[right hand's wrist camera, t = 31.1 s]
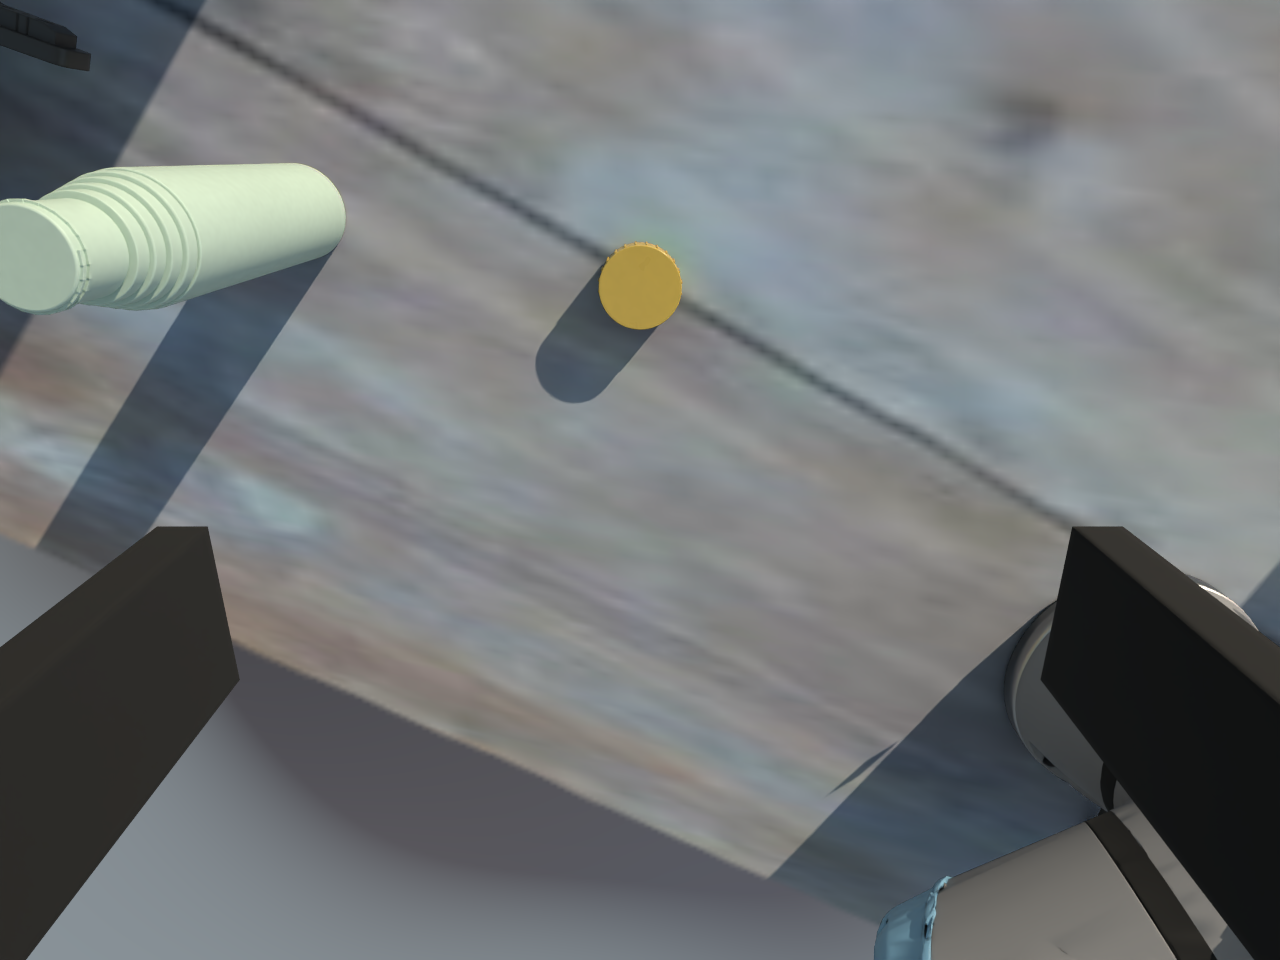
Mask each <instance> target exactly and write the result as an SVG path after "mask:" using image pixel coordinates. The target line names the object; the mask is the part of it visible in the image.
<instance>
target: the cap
mask: <svg viewBox="0 0 1280 960" xmlns="http://www.w3.org/2000/svg"><path fill="white" fill-rule="evenodd" d="M601 271H602V272H601V275H600V277H599V279H598V281H599V290H598V293H599V296H600V300H601V303H602V305H603V307H604V309H605V311H606V312H607V313H608V315H609V316H610V317H611V318H612V319H613V320H614V321H616V322H617V323H619V324H620V325H622V326H624V327H627V328H631V329H637V330H643V329H650V328H653V327H656V326H658V325H660V324H662V323H663V322H665V321H666V320H667V319H668V318H669V317H670V316H671V315H672V314H673V312H674V311H675V310H676V308H677V306H678V305H679V301H680V297H681V295H682V292H681V290H682V285H681V284H682V280H681V278H680V274H679V273H680V271H679V268H677V266H676V264H675V260H674V259H672V258H671V257H670V255H669V254H668V253H667V251H664V250H663V249H661V248H659V247H658V245H656V246H655V245H653V244H649V243H647V242H646V243H642V242H639V243H637V242H635V243H631V244H628V245H626V244H624V246H623V247H621V248H619V249H618V250H615V252H614V253H613V254H612V255H611V256H610V257H608V258H607V260H606V263H605V265H604V267H603V266H602V269H601Z"/></svg>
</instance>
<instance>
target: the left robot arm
mask: <svg viewBox="0 0 1280 960" xmlns="http://www.w3.org/2000/svg"><path fill="white" fill-rule="evenodd" d="M76 42H77V36H76V35H74V34H73V33H72V32H71V31H69V30H68V29H67V28H66V27H64V26H61V25H58V24H55V23H53V22H50V21H47V20H44V19H41V18H39V17H36V16H33V15H30V14H28V13H25V12H22V11H19V10H17V9H14V8H11V7H8V6H6V5H4V4H2V3H1V2H0V45H1V46H4V47H7V48H10V49H13V50H15V51H18V52H21V53H24V54H27V55H29V56H32V57H35V58H38V59H41V60H43V61H46V62H49V63H52V64H55V65H58V66H62V67H66V68H71V69H78V70H84V71H89V69H90V59H91V54H90V53H88V52H85V51H82V50H80V49H77V48H76Z"/></svg>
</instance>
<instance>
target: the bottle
mask: <svg viewBox="0 0 1280 960" xmlns="http://www.w3.org/2000/svg"><path fill="white" fill-rule="evenodd" d="M345 221H346V216H345V209H344V204H343V201H342V199H341V196H340V194H339V192H338V191H337V189H336V187H335V186H334V185H333V184H332V182H331V181H330V180H329V179H328V178H327V177H326V176H324V175H323V174H322V173H320V172H319V171H317V170H316V169H314V168H311V167H309V166H306V165H302V164H296V163H282V164H239V165H195V166H152V167H114V168H105V169H101V170H97V171H94V172H90V173H86V174H84V175H81V176H79V177H77V178H76V179H74V180H72V181H70V182H68V183H66V184H65V185H63V186H62V187H60V188H58V189H56V190H54V191H53V192H51V193H49V194H47V195H45V196H43V197H42V198H40V199H39V200H34V201H32V200H29V199H5V200H2V201H0V299H1V300H2V301H4V302H5V303H6V304H8V305H10V306H12V307H14V308H16V309H18V310H20V311H23V312H27V313H31V314H35V315H50V314H54V313H58V312H61V311H64V310H68V309H71V308H72V307H74V306H75V305H76V304H84V305H93V306H101V307H110V308H115V309H125V310H136V311H137V310H150V309H159V308H163V307H167V306H170V305H173V304H176V303H179V302H182V301H186V300H189V299H192V298H195V297H198V296H201V295H204V294H207V293H211V292H214V291H217V290H220V289H223V288H226V287H229V286H232V285H236V284H239V283H242V282H245V281H248V280H251V279H254V278H257V277H261V276H264V275H267V274H270V273H273V272H276V271H279V270H283V269H286V268H289V267H292V266H295V265H298V264H301V263H304V262H308V261H311V260H314V259H317V258H320V257H322V256H324V255H326V254H328V253H329V252H331V251H332V250H333V249H334V248H335V247H336V246H337V244H338V243H339V241H340V240H341V238H342V235H343V232H344V229H345Z"/></svg>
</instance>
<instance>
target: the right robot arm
mask: <svg viewBox="0 0 1280 960" xmlns="http://www.w3.org/2000/svg"><path fill="white" fill-rule="evenodd" d="M239 680H240V679H239V674H238V670H237V665H236V660H235V655H234V651H233V646H232V641H231V636H230V631H229V627H228V622H227V617H226V612H225V607H224V603H223V598H222V593H221V588H220V584H219V579H218V574H217V569H216V564H215V560H214V555H213V550H212V545H211V541H210V536H209V531H208V527H156V528H155V529H153V530H152V531H151V532H149V533H148V534H147V535H146V536H144V537H143V538H142V539H140V540H139V541H138V542H136V543H135V544H134V545H133V546H131V547H130V548H129V549H127V550H126V551H125V552H123V553H122V554H121V555H120V556H118V557H117V558H116V559H114V560H113V561H112V562H110V563H109V564H108V565H107V566H105V567H104V568H103V569H101V570H100V571H99V572H97V573H96V574H95V575H94V576H92V577H91V578H90V579H88V580H87V581H86V582H84V583H83V584H82V585H81V586H79V587H78V588H77V589H75V590H74V591H73V592H71V593H70V594H69V595H68V596H66V597H65V598H64V599H62V600H61V601H60V602H58V603H57V604H56V605H55V606H53V607H52V608H51V609H49V610H48V611H47V612H45V613H44V614H43V615H42V616H40V617H39V618H38V619H36V620H35V621H34V622H32V623H31V624H30V625H29V626H27V627H26V628H25V629H23V630H22V631H21V632H19V633H18V634H17V635H16V636H14V637H13V638H12V639H10V640H9V641H8V642H7V643H5V644H4V645H3V646H1V647H0V960H26V959H27V958H28V956H29V955H30V954H31V952H32V951H33V950H34V949H35V947H36V946H37V945H38V943H39V942H40V941H41V939H42V938H43V937H44V935H45V934H46V933H47V931H48V930H49V929H50V927H51V926H52V925H53V924H54V922H55V921H56V920H57V918H58V917H59V916H60V914H61V913H62V912H63V911H64V909H65V908H66V907H67V905H68V904H69V903H70V901H71V900H72V899H73V897H74V896H75V895H76V893H77V892H78V891H79V890H80V888H81V887H82V886H83V884H84V883H85V882H86V880H87V879H88V878H89V876H90V875H91V874H92V873H93V871H94V870H95V869H96V867H97V866H98V865H99V863H100V862H101V861H102V859H103V858H104V857H105V855H106V854H107V853H108V852H109V850H110V849H111V848H112V846H113V845H114V844H115V842H116V841H117V840H118V838H119V837H120V836H121V834H122V833H123V832H124V831H125V829H126V828H127V827H128V825H129V824H130V823H131V821H132V820H133V819H134V817H135V816H136V815H137V814H138V812H139V811H140V810H141V808H142V807H143V806H144V804H145V803H146V802H147V800H148V799H149V798H150V797H151V795H152V794H153V793H154V791H155V790H156V789H157V787H158V786H159V785H160V783H161V782H162V781H163V780H164V778H165V777H166V776H167V774H168V773H169V772H170V770H171V769H172V768H173V766H174V765H175V764H176V762H177V761H178V760H179V758H180V757H181V756H182V755H183V753H184V752H185V751H186V749H187V748H188V747H189V745H190V744H191V743H192V742H193V740H194V739H195V737H196V736H197V735H198V734H199V732H200V731H201V730H202V728H203V727H204V726H205V724H206V723H207V722H208V721H209V719H210V718H211V717H212V715H213V714H214V713H215V711H216V710H217V709H218V707H219V706H220V705H221V704H222V702H223V701H224V700H225V698H226V697H227V696H228V694H229V693H230V692H231V690H232V689H233V688H234V686H235V685H236V684H237V682H238V681H239ZM1004 699H1005V706H1006V711H1007V714H1008V717H1009V720H1010V722H1011V724H1012V726H1013V728H1014V729H1015V731H1016V732H1017V734H1018V736H1019V737H1020V739H1021V740H1022V742H1023V743H1024V745H1025V746H1026V748H1027V749H1028V751H1029V752H1030V753H1031V754H1032V756H1033V757H1034V758H1035V759H1036V760H1037V761H1038V762H1039V763H1040V764H1042V765H1043V766H1044V767H1045V768H1046V769H1047V770H1049V771H1050V772H1052V773H1053V774H1054V775H1056V776H1057V777H1059V778H1060V779H1062V780H1063V781H1065V782H1067V783H1069V784H1070V785H1071V786H1072V787H1073V788H1075V789H1076V790H1077V791H1078V792H1080V793H1081V794H1083V795H1084V796H1085V797H1087V798H1088V799H1090V800H1091V801H1092V802H1094V803H1095V804H1097V805H1098V806H1100V807H1101V810H1100V812H1099V814H1098V816H1097V817H1095V818H1092V819H1090V820H1088V821H1085V822H1083V823H1080V824H1078V825H1076V826H1073V827H1071V828H1069V829H1066V830H1064V831H1061V832H1059V833H1057V834H1054V835H1052V836H1050V837H1047V838H1045V839H1042V840H1040V841H1038V842H1035V843H1033V844H1031V845H1028V846H1026V847H1024V848H1021V849H1019V850H1016V851H1014V852H1012V853H1009V854H1007V855H1005V856H1002V857H1000V858H997V859H995V860H993V861H990V862H988V863H986V864H983V865H981V866H979V867H976V868H974V869H971V870H969V871H967V872H964V873H962V874H960V875H957V876H955V877H950V876H946V877H944V878H942V879H940V880H939V881H937V882H936V883H935V884H934V886H933V888H931V889H929V890H927V891H925V892H923V893H921V894H919V895H917V896H915V897H913V898H911V899H909V900H907V901H905V902H903V903H901V904H899V905H897V906H896V907H894V908H892V909H891V910H890V911H889V912H888V913H887V914H886V915H885V917H884V918H883V920H882V922H881V924H880V927H879V929H878V931H877V938H876V942H875V946H874V960H1280V647H1279V646H1277V645H1276V644H1275V643H1274V642H1272V641H1271V640H1270V639H1268V638H1267V637H1266V636H1264V635H1263V634H1262V633H1261V632H1259V631H1258V629H1257V628H1256V626H1255V625H1254V623H1253V622H1252V621H1251V619H1250V618H1249V616H1248V615H1247V614H1246V613H1245V612H1244V611H1243V610H1242V609H1241V608H1240V607H1239V606H1238V605H1237V604H1235V603H1234V602H1233V601H1232V600H1230V599H1229V598H1228V597H1226V596H1225V595H1224V594H1222V593H1221V592H1220V591H1218V590H1217V589H1215V588H1214V587H1212V586H1211V585H1209V584H1208V583H1206V582H1204V581H1202V580H1200V579H1197V578H1195V577H1192V576H1189V575H1186V574H1184V573H1183V572H1181V571H1180V570H1179V569H1177V568H1176V567H1175V566H1173V565H1172V564H1171V563H1170V562H1168V561H1167V560H1166V559H1164V558H1163V557H1162V556H1160V555H1159V554H1158V553H1157V552H1155V551H1154V550H1153V549H1151V548H1150V547H1149V546H1147V545H1146V544H1145V543H1144V542H1142V541H1141V540H1140V539H1138V538H1137V537H1136V536H1134V535H1133V534H1132V533H1131V532H1129V531H1128V530H1127V529H1125V528H1124V527H1072V531H1071V536H1070V540H1069V545H1068V550H1067V555H1066V560H1065V564H1064V569H1063V574H1062V579H1061V584H1060V588H1059V593H1058V598H1057V601H1056V602H1055V603H1054V604H1052V605H1051V606H1050V607H1049V608H1048V609H1046V610H1045V611H1044V612H1043V613H1042V614H1041V615H1040V616H1039V617H1038V618H1037V619H1036V620H1035V621H1034V622H1033V623H1032V624H1031V626H1030V627H1029V628H1028V629H1027V631H1026V632H1025V633H1024V635H1023V636H1022V638H1021V639H1020V641H1019V642H1018V644H1017V646H1016V648H1015V650H1014V652H1013V654H1012V656H1011V659H1010V661H1009V664H1008V668H1007V671H1006V676H1005V683H1004Z"/></svg>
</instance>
